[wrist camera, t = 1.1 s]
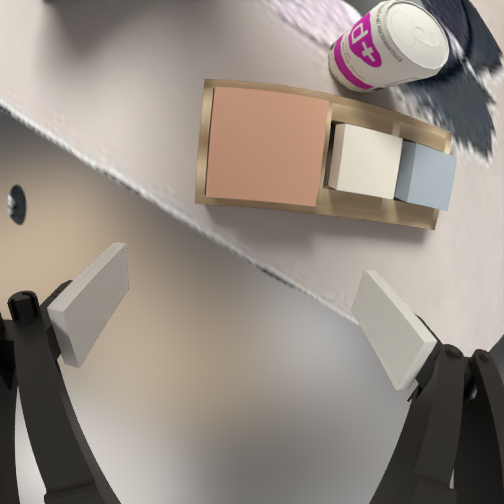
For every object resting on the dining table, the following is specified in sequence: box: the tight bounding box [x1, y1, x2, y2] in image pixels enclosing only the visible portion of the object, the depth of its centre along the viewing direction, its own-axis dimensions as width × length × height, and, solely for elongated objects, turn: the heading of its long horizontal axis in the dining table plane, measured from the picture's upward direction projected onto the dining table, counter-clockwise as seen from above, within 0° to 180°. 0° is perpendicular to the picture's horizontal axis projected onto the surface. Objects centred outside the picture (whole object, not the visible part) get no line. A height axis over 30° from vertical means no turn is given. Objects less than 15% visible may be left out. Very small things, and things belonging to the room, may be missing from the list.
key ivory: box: [328, 123, 403, 199], centre depth 28 cm, size 7×7×4 cm
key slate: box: [394, 142, 457, 211], centre depth 29 cm, size 7×7×4 cm
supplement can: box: [328, 0, 449, 93], centre depth 21 cm, size 8×8×15 cm
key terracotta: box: [206, 87, 329, 207], centre depth 27 cm, size 11×11×4 cm
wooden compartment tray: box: [195, 79, 451, 230], centre depth 31 cm, size 14×32×4 cm, turn 85°
